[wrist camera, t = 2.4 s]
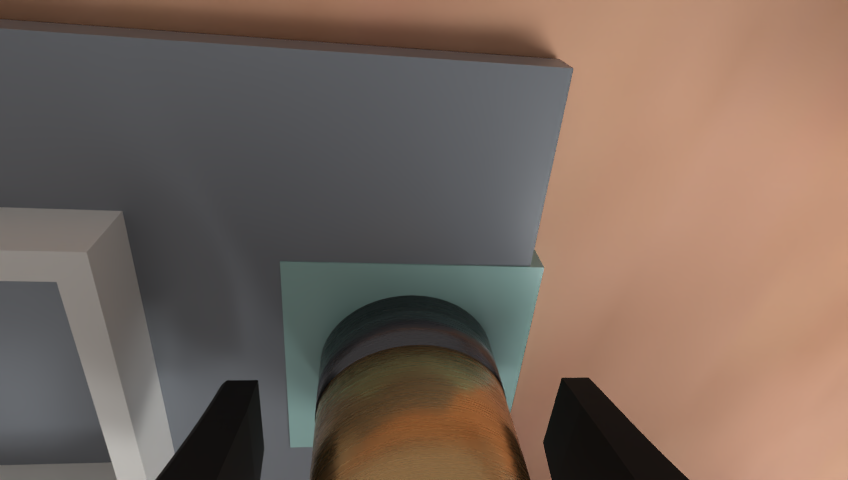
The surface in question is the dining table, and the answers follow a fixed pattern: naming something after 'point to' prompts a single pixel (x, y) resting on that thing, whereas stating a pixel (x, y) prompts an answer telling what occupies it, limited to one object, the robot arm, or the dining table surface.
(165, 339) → the gray board
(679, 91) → the dining table surface
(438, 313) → the cell
